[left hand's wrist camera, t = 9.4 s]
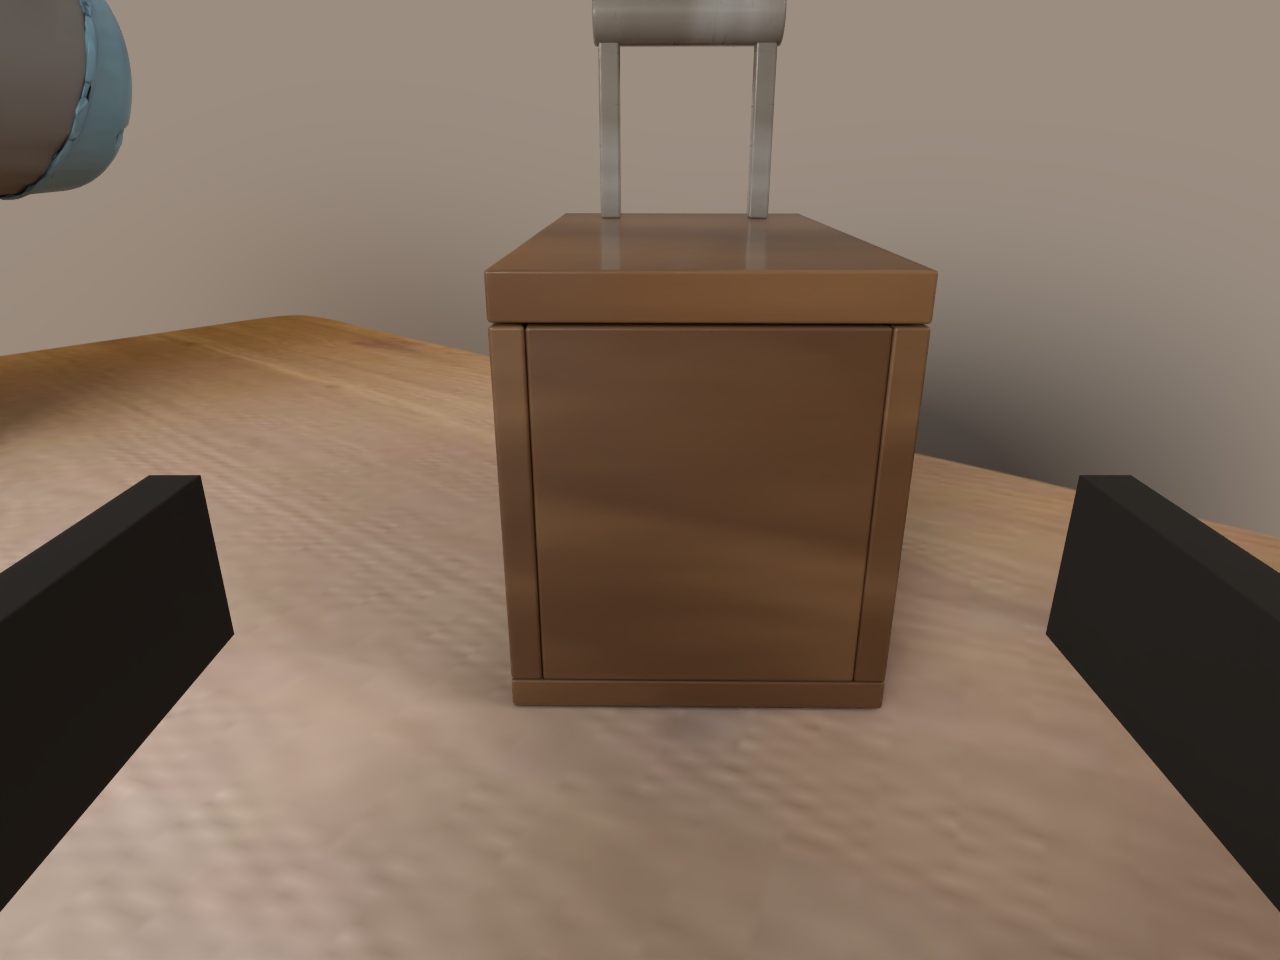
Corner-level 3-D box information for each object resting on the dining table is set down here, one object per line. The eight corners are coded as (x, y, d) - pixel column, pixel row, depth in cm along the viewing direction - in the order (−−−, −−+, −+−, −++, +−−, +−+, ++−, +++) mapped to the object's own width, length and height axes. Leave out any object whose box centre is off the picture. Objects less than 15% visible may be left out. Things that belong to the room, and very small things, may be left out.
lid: (565, 241, 32) (557, -3, 29) (797, 242, 32) (814, -4, 29) (486, 323, 17) (452, -178, 14) (932, 324, 17) (999, -180, 14)
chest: (571, 473, 35) (563, 244, 32) (784, 474, 35) (800, 245, 32) (513, 706, 20) (486, 325, 17) (881, 709, 20) (932, 327, 17)
